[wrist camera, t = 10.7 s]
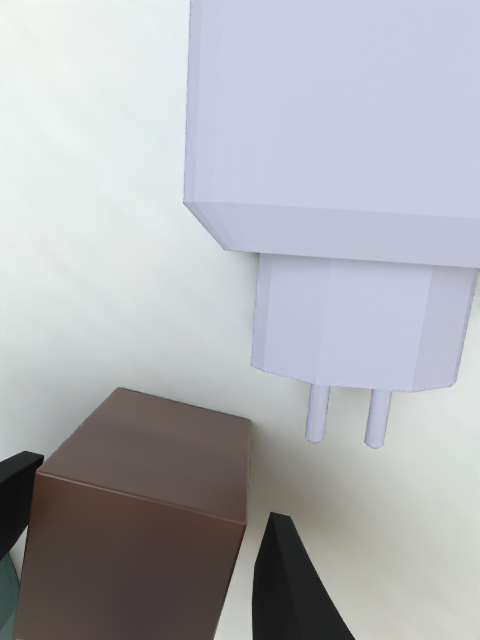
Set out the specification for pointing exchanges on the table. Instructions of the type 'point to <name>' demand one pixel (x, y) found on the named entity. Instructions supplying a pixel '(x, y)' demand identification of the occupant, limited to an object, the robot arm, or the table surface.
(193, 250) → the table surface
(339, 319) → the charger
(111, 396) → the block
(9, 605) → the tin
